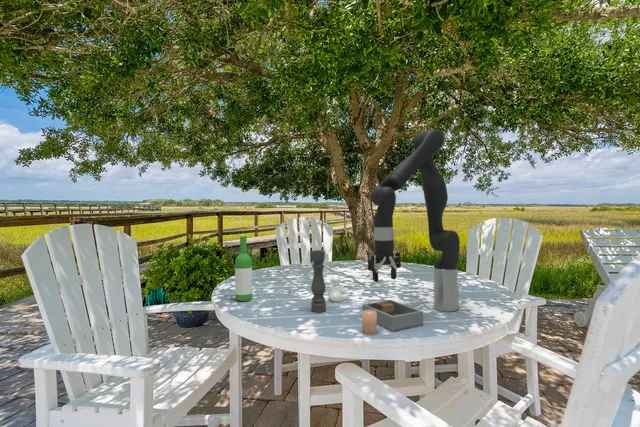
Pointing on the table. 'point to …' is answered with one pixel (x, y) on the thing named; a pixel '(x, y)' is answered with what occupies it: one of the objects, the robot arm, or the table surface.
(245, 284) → the wine bottle
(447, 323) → the table surface
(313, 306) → the candle holder
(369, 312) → the tan cylinder
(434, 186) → the robot arm
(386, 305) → the walnut cube
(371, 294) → the table surface
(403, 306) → the grey tote
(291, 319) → the table surface
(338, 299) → the white creature statuette
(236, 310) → the table surface
